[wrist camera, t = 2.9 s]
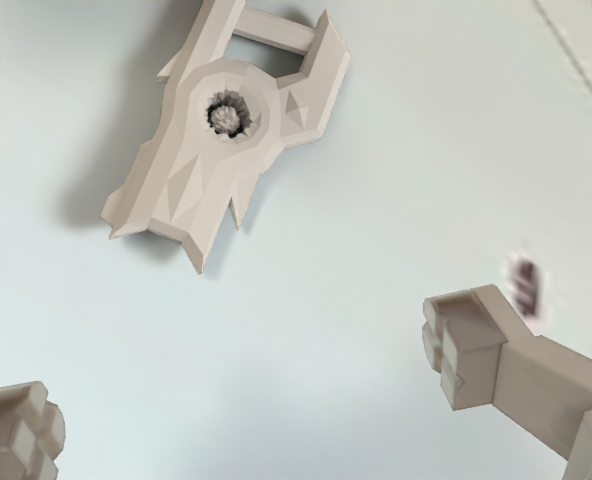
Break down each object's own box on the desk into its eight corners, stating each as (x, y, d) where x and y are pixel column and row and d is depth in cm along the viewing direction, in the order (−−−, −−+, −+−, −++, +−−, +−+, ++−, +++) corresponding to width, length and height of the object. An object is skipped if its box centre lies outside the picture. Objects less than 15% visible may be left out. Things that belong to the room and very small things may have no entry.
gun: (271, 297, 28) (85, 225, 25) (254, 298, 31) (88, 235, 29) (369, 19, 32) (219, -67, 30) (346, 45, 36) (208, -30, 33)
